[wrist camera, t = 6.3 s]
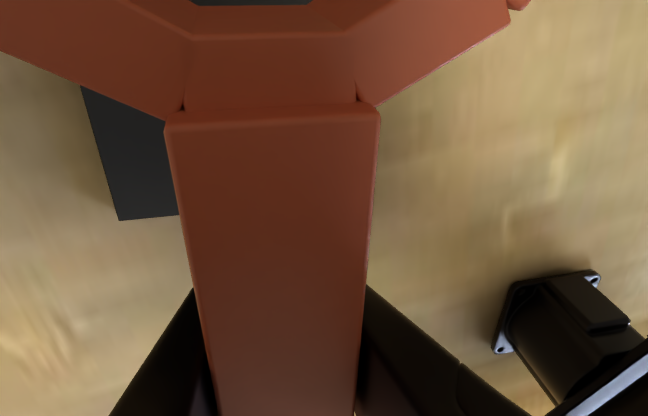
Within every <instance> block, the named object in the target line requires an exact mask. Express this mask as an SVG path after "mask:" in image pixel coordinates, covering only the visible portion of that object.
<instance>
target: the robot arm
mask: <svg viewBox="0 0 648 416" xmlns="http://www.w3.org/2000/svg"><path fill="white" fill-rule="evenodd" d="M600 279H601V276H600V275H599V274H598V273H597V272H595V271H587V272H580V273H574V274H567V275H560V276H554V277H547V278H540V279H534V280H527V281H520V282H516V283H514V284H513V285H512V286H511V287H510V290H509V293H508V296H507V299H506V302H505V305H504V308H503V311H502V314H501V317H500V320H499V323H498V326H497V329H496V332H495V335H494V339H493V342H492V345H491V349H492V350H493V352H494V353H495V354H503V353H508V352H514V351H515V352H516V354H517V355H518V356H519V358H520V359H521V360H522V362H523V363H524V364H525V366H526V367H527V369H528V370H529V371H530V373H531V374H532V375H533V377H534V378H535V379H536V381H537V382H538V383H539V385H540V386H541V388H542V389H543V390H544V392H545V393H546V394H547V396H548V397H549V398H550V400H551V401H552V403H553V404H554V405H555V408H554V409H553V410H551V411H550V412H549V413H547V414H546V415H545V416H648V338H646V339H645V338H644V337H643V336H641V335H640V334H639V333H638V332H637V331H636V330H635V329H634V328H633V327H632V326H631V325H630V321H631V320H630V319H629V318H628V316H627V315H625V314H624V313H623V312H622V311H621V310H620V309H619V308H618V307H617V306H616V305H614V304H613V303H612V302H611V301H610V300H609V299H608V298H607V297H606V296H604V295H603V294H602V293H601V292H600V291H599V290H598V289H597V285H598V283H599V281H600ZM647 336H648V335H647ZM459 364H460V362H459V360H458V359H457V358H456V357H454V356H453V355H452V354H451V353H449V352H448V351H447V350H446V349H445V348H443V347H442V346H441V345H440V344H438V343H437V342H436V341H435V340H434V339H432V338H431V337H430V336H429V335H428V334H426V333H425V332H424V331H423V330H421V329H420V328H419V327H418V326H417V325H415V324H414V323H413V322H412V321H411V320H409V319H408V318H407V317H406V316H404V315H403V314H402V313H401V312H400V311H398V310H397V309H396V308H395V307H393V306H392V305H391V304H390V303H389V302H387V301H386V300H385V299H384V298H383V297H381V296H380V295H379V294H378V293H376V292H375V291H374V290H373V289H372V288H370V287H369V286H368V285H367V284H366V289H365V300H364V311H363V322H362V333H361V344H360V355H359V366H358V377H357V388H356V399H355V410H354V411H355V414H356V416H531V415H530V414H529V413H527V412H526V411H524V410H523V409H522V408H520V407H519V406H517V405H516V404H515V403H513V402H512V401H510V400H509V399H508V398H506V397H505V396H503V395H502V394H501V393H499V392H498V391H497V390H496V389H494V388H493V387H492V386H490V385H489V384H488V383H487V382H485V381H484V380H483V379H481V378H480V377H479V376H478V375H476V374H475V373H474V372H473V371H472V370H470V369H469V368H468V367H467V366H465V365H464V364H463V363H461V364H460V365H459ZM109 416H219V415H218V410H217V405H216V400H215V395H214V390H213V385H212V379H211V374H210V369H209V364H208V359H207V354H206V349H205V343H204V338H203V333H202V328H201V323H200V318H199V313H198V307H197V302H196V297H195V292H194V287H193V288H192V289H191V291H190V293H189V294H188V296H187V297H186V299H185V300H184V302H183V303H182V305H181V306H180V308H179V309H178V311H177V312H176V314H175V315H174V317H173V318H172V320H171V321H170V323H169V325H168V326H167V328H166V329H165V331H164V332H163V334H162V335H161V337H160V338H159V340H158V341H157V343H156V344H155V346H154V347H153V349H152V350H151V352H150V354H149V355H148V357H147V358H146V360H145V361H144V363H143V364H142V366H141V367H140V369H139V370H138V372H137V373H136V375H135V376H134V378H133V379H132V381H131V382H130V384H129V386H128V387H127V389H126V390H125V392H124V393H123V395H122V396H121V398H120V399H119V401H118V402H117V404H116V405H115V407H114V408H113V410H112V411H111V413H110V415H109Z"/></svg>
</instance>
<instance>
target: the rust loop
mask: <svg viewBox="0 0 648 416" xmlns="http://www.w3.org/2000/svg"><path fill="white" fill-rule="evenodd" d="M530 1H531V0H313V1H311V2H310V3H308V4H307V5H247V6H198V5H196V4H194V3H192V2H191V1H189V0H0V51H2V52H4V53H6V54H9V55H11V56H13V57H16V58H18V59H20V60H23V61H25V62H27V63H30V64H32V65H35V66H37V67H39V68H42V69H44V70H46V71H49V72H51V73H53V74H56V75H58V76H60V77H63V78H65V79H67V80H70V81H72V82H74V83H77V84H79V85H81V86H84V87H86V88H88V89H91V90H93V91H95V92H98V93H100V94H102V95H105V96H107V97H109V98H112V99H114V100H116V101H119V102H121V103H124V104H126V105H128V106H131V107H133V108H135V109H138V110H140V111H142V112H145V113H147V114H149V115H152V116H154V117H156V118H159V119H161V120H163V121H166V124H165V127H164V131H163V132H164V137H165V143H166V148H167V153H168V158H169V163H170V168H171V173H172V179H173V184H174V189H175V194H176V199H177V204H178V210H179V215H180V220H181V225H182V230H183V235H184V240H185V246H186V251H187V256H188V261H189V266H190V271H191V276H192V282H193V287H194V292H195V297H196V302H197V307H198V313H199V318H200V323H201V328H202V333H203V338H204V343H205V349H206V354H207V359H208V364H209V369H210V374H211V379H212V385H213V390H214V395H215V400H216V405H217V410H218V415H219V416H354V410H355V399H356V388H357V377H358V366H359V355H360V344H361V333H362V322H363V311H364V300H365V289H366V278H367V267H368V256H369V245H370V234H371V223H372V212H373V201H374V190H375V179H376V168H377V157H378V146H379V135H380V124H381V117H380V114H379V112H378V111H377V110H376V109H375V108H376V107H377V106H379V105H380V104H382V103H384V102H385V101H387V100H389V99H390V98H392V97H393V96H395V95H397V94H398V93H400V92H402V91H403V90H405V89H406V88H408V87H410V86H411V85H413V84H414V83H416V82H418V81H419V80H421V79H423V78H424V77H426V76H427V75H429V74H431V73H432V72H434V71H436V70H437V69H439V68H440V67H442V66H444V65H445V64H447V63H449V62H450V61H452V60H453V59H455V58H457V57H458V56H460V55H462V54H463V53H465V52H466V51H468V50H470V49H471V48H473V47H474V46H476V45H478V44H479V43H481V42H483V41H484V40H486V39H487V38H489V37H491V36H492V35H494V34H496V33H497V32H499V31H500V30H502V29H504V28H505V27H507V26H508V25H509V24H510V21H511V19H510V15H509V11H508V9H512V10H517V11H521V10H523V9H524V8H525V7H526V6H527V5H528V4H529V2H530Z"/></svg>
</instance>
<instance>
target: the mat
mask: <svg viewBox="0 0 648 416" xmlns="http://www.w3.org/2000/svg"><path fill="white" fill-rule="evenodd" d="M189 1H191V2H192V3H194V4H196V5H198V6H247V5H307V4H308V3H310V2H311V1H313V0H189ZM80 88H81V91H82V95H83V98H84V102H85V105H86V109H87V112H88V116H89V119H90V123H91V126H92V129H93V133H94V136H95V140H96V143H97V147H98V150H99V154H100V157H101V161H102V164H103V168H104V171H105V175H106V178H107V182H108V185H109V188H110V192H111V195H112V199H113V202H114V206H115V209H116V213H117V216H118V220H119V221H123V220H133V219H143V218H154V217H164V216H174V215H179V210H178V204H177V199H176V194H175V189H174V184H173V179H172V173H171V168H170V163H169V158H168V153H167V148H166V143H165V137H164V132H163V131H164V127H165V124H166V121H163V120H161V119H159V118H156V117H154V116H152V115H149V114H147V113H145V112H142V111H140V110H138V109H135V108H133V107H131V106H128V105H126V104H124V103H121V102H119V101H116V100H114V99H112V98H109V97H107V96H105V95H102V94H100V93H98V92H95V91H93V90H91V89H88V88H86V87H84V86H81V85H80Z"/></svg>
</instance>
